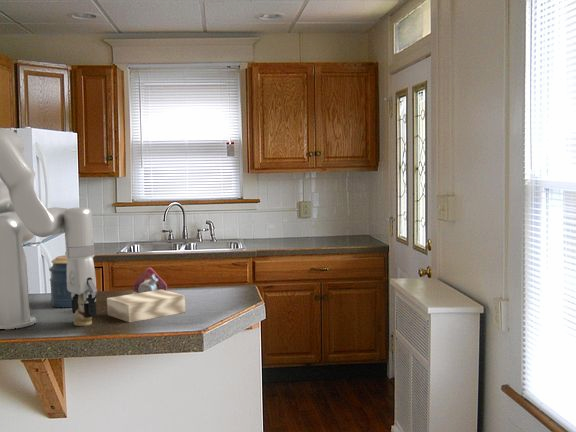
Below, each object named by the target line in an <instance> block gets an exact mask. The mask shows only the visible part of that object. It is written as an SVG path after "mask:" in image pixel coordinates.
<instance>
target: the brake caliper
mask: <svg viewBox="0 0 576 432" xmlns="http://www.w3.org/2000/svg"><path fill="white" fill-rule="evenodd" d="M145 276H146V277H145ZM157 284H158V286H157ZM132 288H133V289H132V290H133V292H132V293H131V294H136V293H142V292H149V291H155V290H165V291H168V290H167V289H168V285H167V283H166V281H165V280H163V279H162V278H161V276H159V274H158V273H156V271H155V270H154V269H153V268H152V267H149V266H148V267H147V268H146V269H145V270H144V271H143V272H142V273H141V275H140V276H138V278H137V279H136V280H135V282H134V283H133V284H132Z"/></svg>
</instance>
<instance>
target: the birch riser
mask: <svg viewBox="0 0 576 432" xmlns="http://www.w3.org/2000/svg"><path fill="white" fill-rule="evenodd" d="M106 304H107V315H108V316H110V317H112V318H115V319H118V320H121V321H124V322H126V323H134V322H135V323H136V322H139V321H144V320H145V321H146V320H150V319H151V320H152V319H156V318H162V317H167V316H172V315H177V314H182V313H186V296H185V294H182V293H181V294H180V293H177V292H172V291H168V290H166V291H165V290H158V289H157V290H155V291H149V292H142V293H136V294H132V293H131V294H124V295H118V296H112V297H111V296H110V297H107V298H106Z"/></svg>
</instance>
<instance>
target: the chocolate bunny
mask: <svg viewBox="0 0 576 432" xmlns="http://www.w3.org/2000/svg"><path fill="white" fill-rule="evenodd" d="M85 292H86V291H85ZM87 298H88V296H87ZM84 303H85V300H84V297H83V294H81V295H79V296H78V304H79V309H78V310H76V312H75V313H73V319H72V320H73V321H72V323H73V324H74V325H75V326H77V327H89V326H92V325H93V320H92V319H93V317H89V318H85V314H84Z"/></svg>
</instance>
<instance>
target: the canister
mask: <svg viewBox="0 0 576 432" xmlns="http://www.w3.org/2000/svg"><path fill="white" fill-rule="evenodd" d="M51 264H52V266H50V267H49V268H48V270H49V271H50V278H49V281H50V302H51V303H50V304H51V306H52V307H55V308H60V307H62V309H63V308H64V307H69V308H72V299H71V292H69V291H68V290H67V259H66V251H65V254H64V255H58V256H55V258H54V259H52V260H51ZM86 292H88V291H86ZM87 296H89V295H87ZM64 309H65V308H64Z"/></svg>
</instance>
